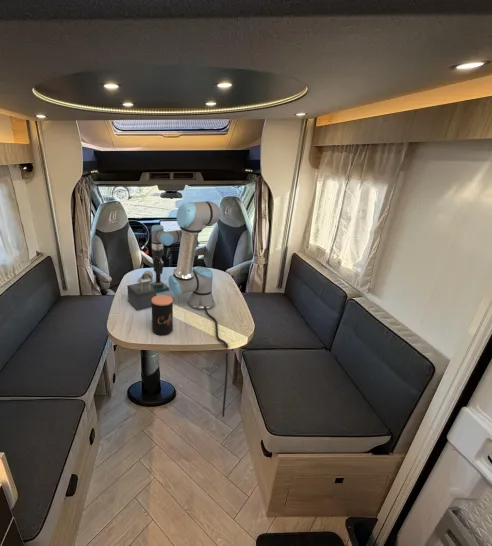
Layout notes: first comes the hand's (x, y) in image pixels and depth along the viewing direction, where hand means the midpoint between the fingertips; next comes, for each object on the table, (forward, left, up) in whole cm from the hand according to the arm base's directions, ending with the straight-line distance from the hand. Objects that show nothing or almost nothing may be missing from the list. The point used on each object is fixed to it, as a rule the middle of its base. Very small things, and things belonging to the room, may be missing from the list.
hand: (158, 282), depth 209 cm
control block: (0, 0, -5) cm, 5 cm away
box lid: (-16, +19, +5) cm, 25 cm away
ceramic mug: (+16, +2, -5) cm, 17 cm away
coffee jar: (-49, +23, -5) cm, 54 cm away
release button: (0, 0, -2) cm, 2 cm away
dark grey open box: (-15, +19, -5) cm, 25 cm away
